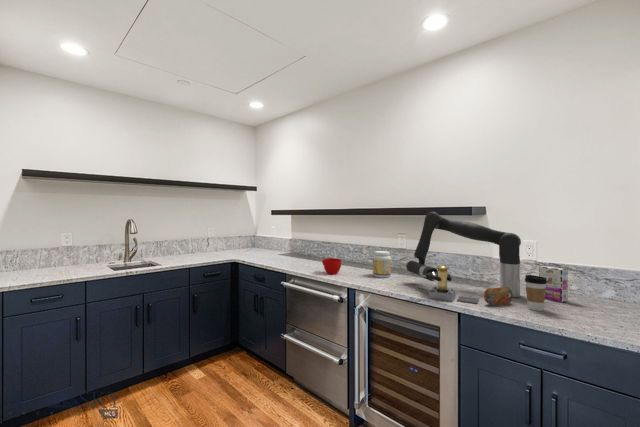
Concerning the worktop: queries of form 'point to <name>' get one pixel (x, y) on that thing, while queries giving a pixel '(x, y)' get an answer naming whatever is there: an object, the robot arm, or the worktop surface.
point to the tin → (498, 296)
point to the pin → (442, 278)
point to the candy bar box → (555, 283)
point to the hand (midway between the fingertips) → (445, 279)
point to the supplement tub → (382, 264)
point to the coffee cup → (535, 292)
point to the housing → (442, 294)
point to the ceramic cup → (332, 265)
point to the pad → (468, 299)
